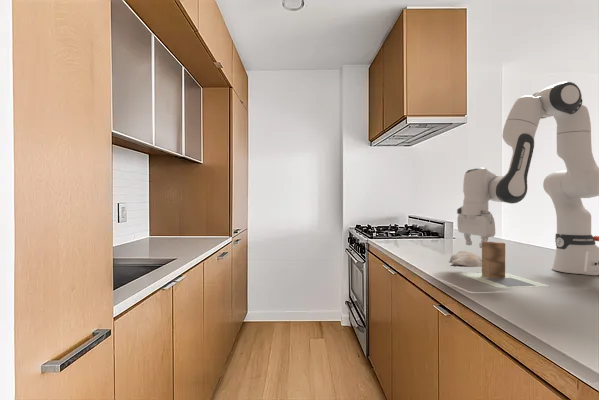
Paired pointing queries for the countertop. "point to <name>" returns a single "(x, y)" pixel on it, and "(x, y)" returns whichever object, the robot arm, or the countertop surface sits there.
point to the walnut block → (493, 259)
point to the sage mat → (504, 281)
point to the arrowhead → (466, 259)
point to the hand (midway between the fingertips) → (475, 246)
